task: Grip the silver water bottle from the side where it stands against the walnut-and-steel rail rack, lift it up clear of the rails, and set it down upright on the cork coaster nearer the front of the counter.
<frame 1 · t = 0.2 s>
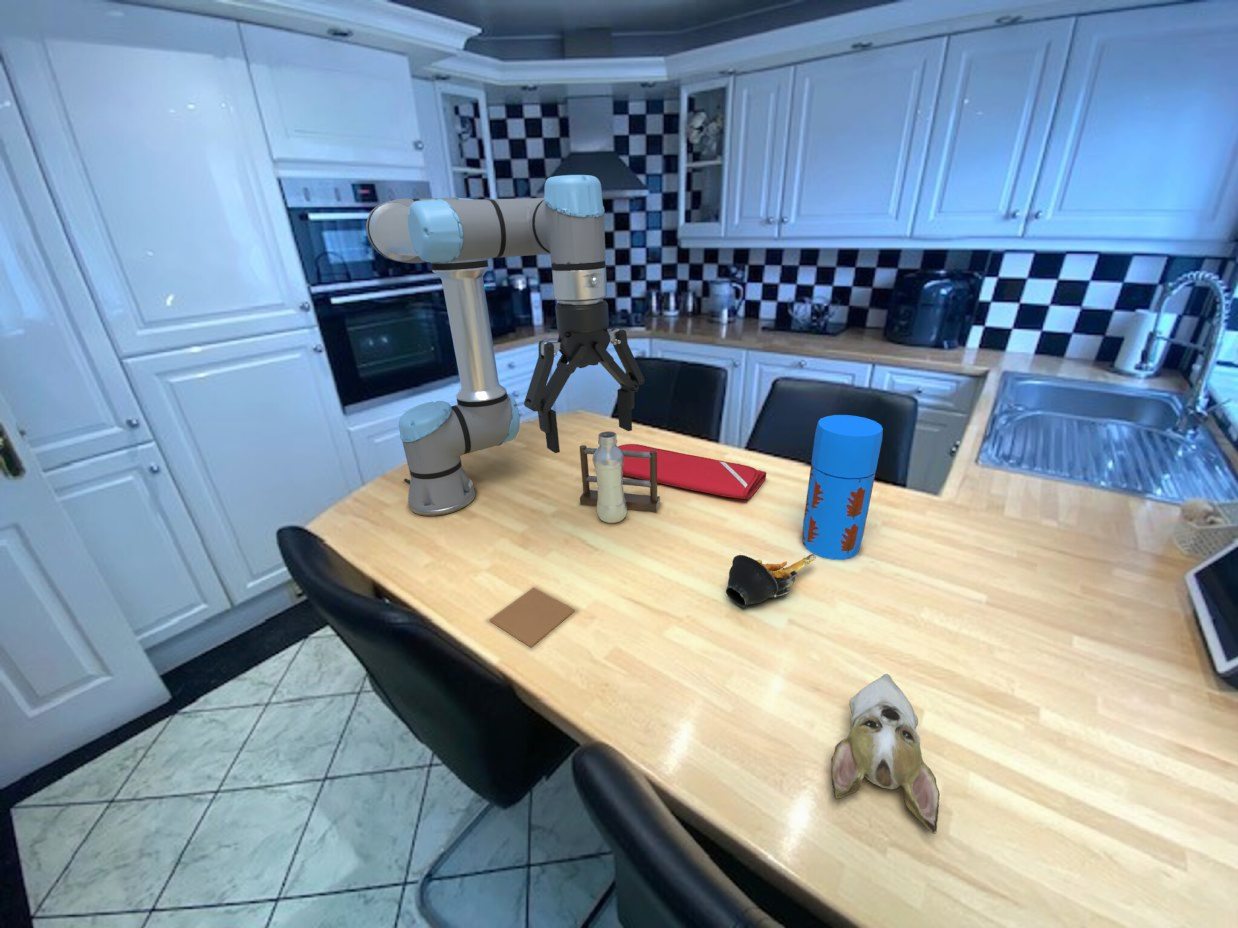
hand: (591, 439, 81), 28 cm above the countertop, tool pointing down, fingers open, 13 cm apart
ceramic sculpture: (878, 766, 59), on the countertop
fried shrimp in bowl: (771, 591, 88), on the countertop
thermos: (830, 544, 100), on the countertop
coaster: (532, 616, 84), on the countertop
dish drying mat: (677, 475, 129), on the countertop
rail rack: (612, 518, 111), on the countertop
silver water bottle: (612, 519, 111), on the countertop
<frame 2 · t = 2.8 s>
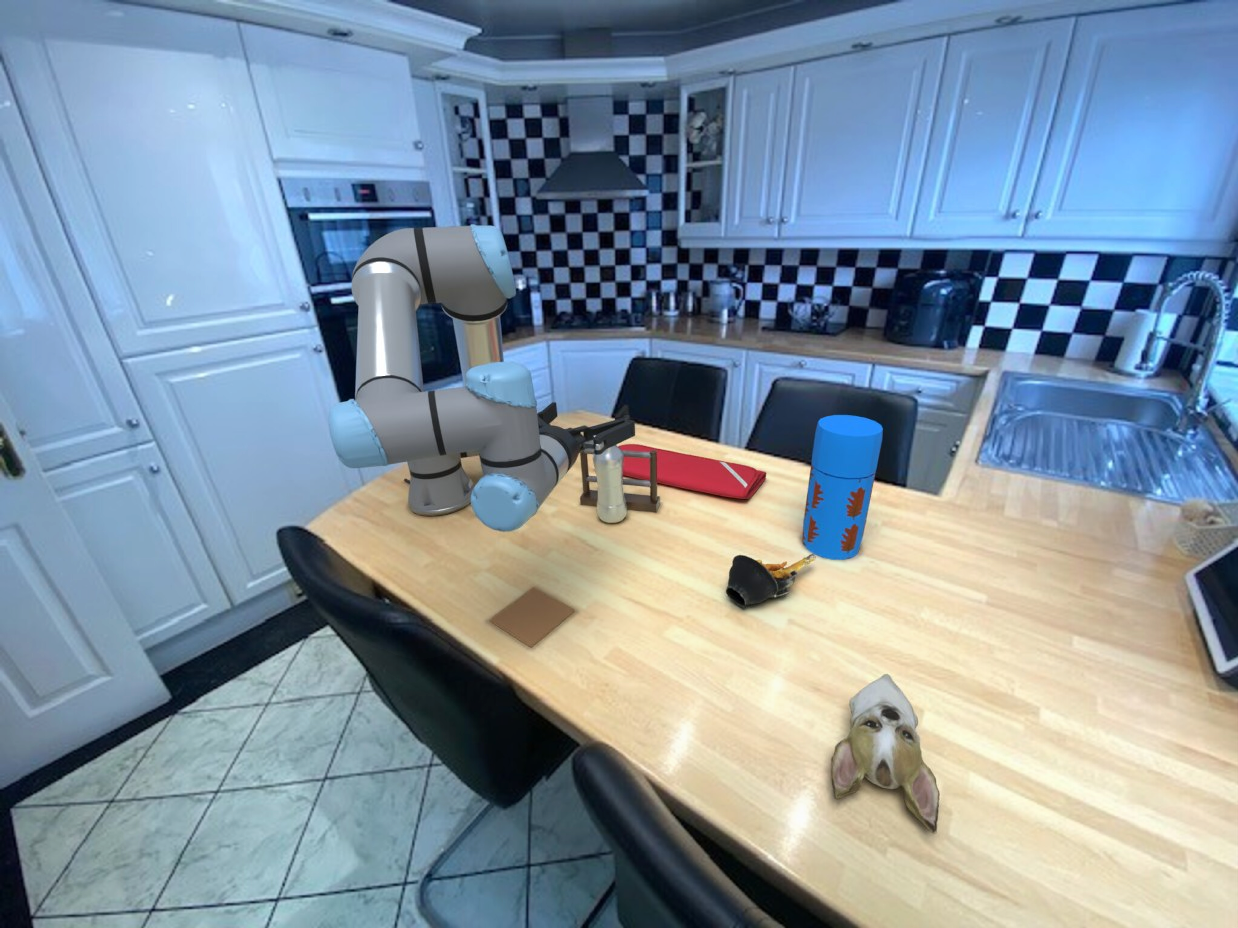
hand: (590, 410, 91), 28 cm above the countertop, tool horizontal, fingers open, 13 cm apart
nothing on the countertop moved.
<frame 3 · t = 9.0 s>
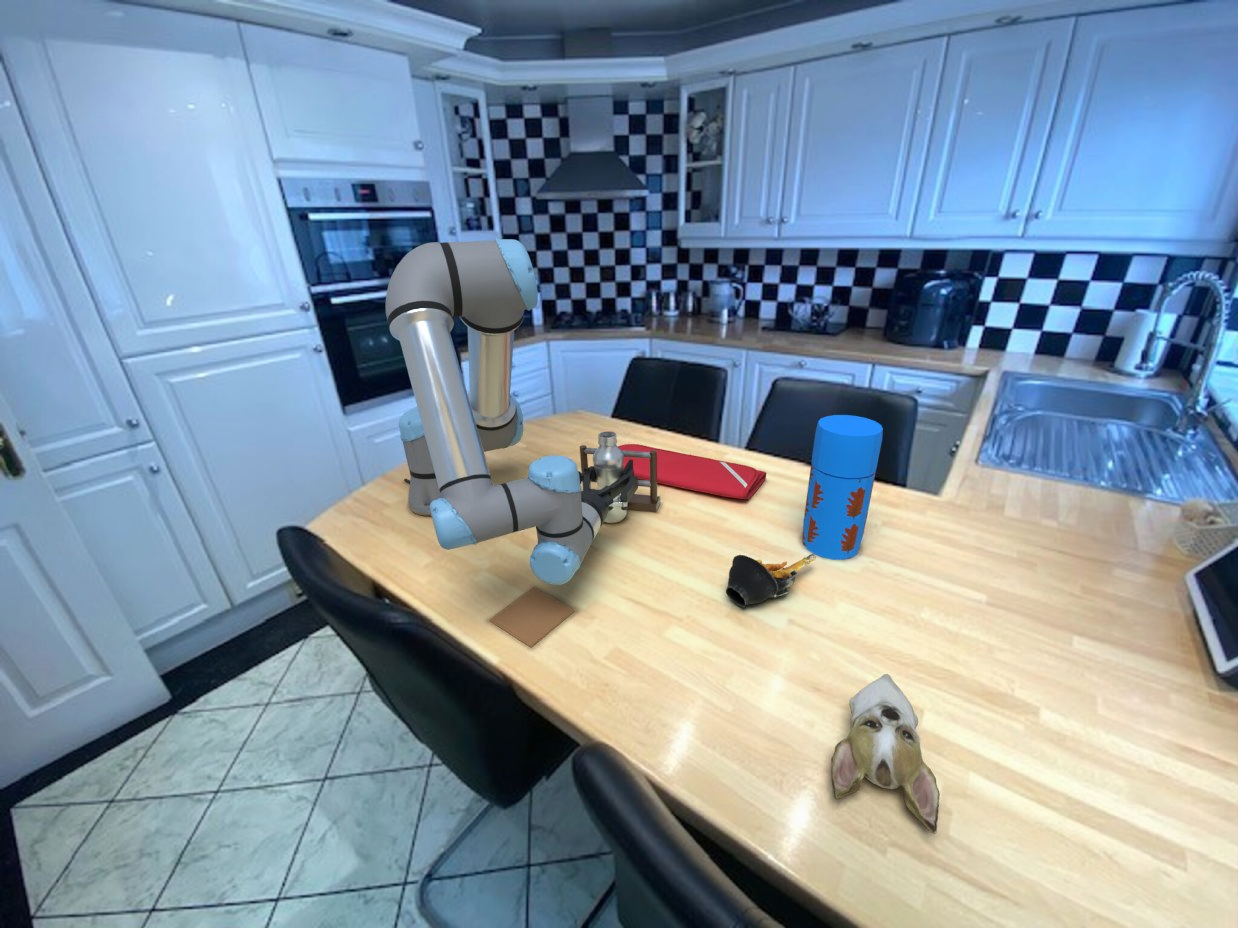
hand: (616, 464, 111), 11 cm above the countertop, tool horizontal, fingers closed on silver water bottle, 6 cm apart
silver water bottle: (612, 519, 111), on the countertop, touching gripper
everything else where it was.
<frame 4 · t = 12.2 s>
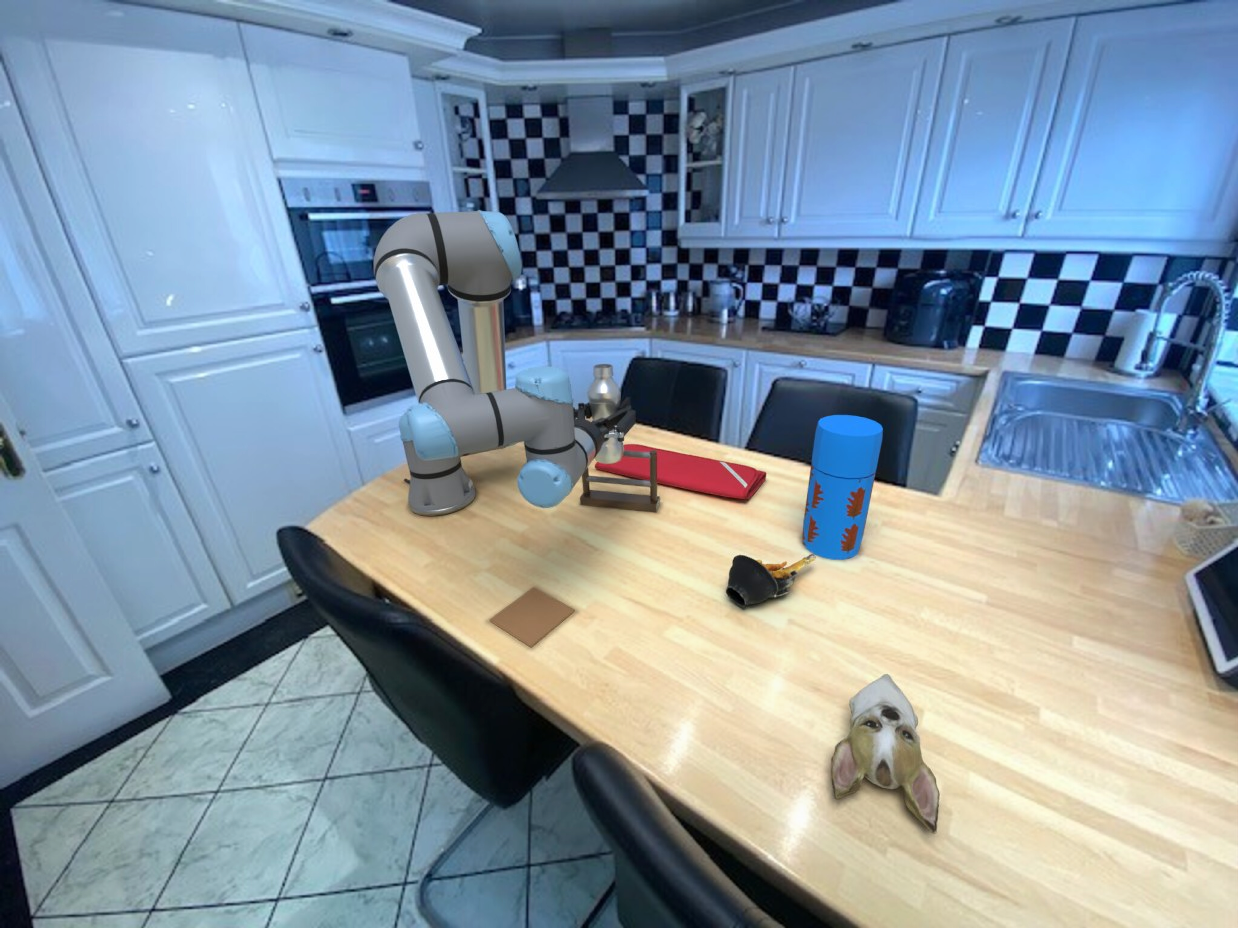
hand: (612, 402, 105), 25 cm above the countertop, tool horizontal, fingers closed on silver water bottle, 6 cm apart
silver water bottle: (608, 461, 105), point 14 cm above the countertop, touching gripper
everything else where it was.
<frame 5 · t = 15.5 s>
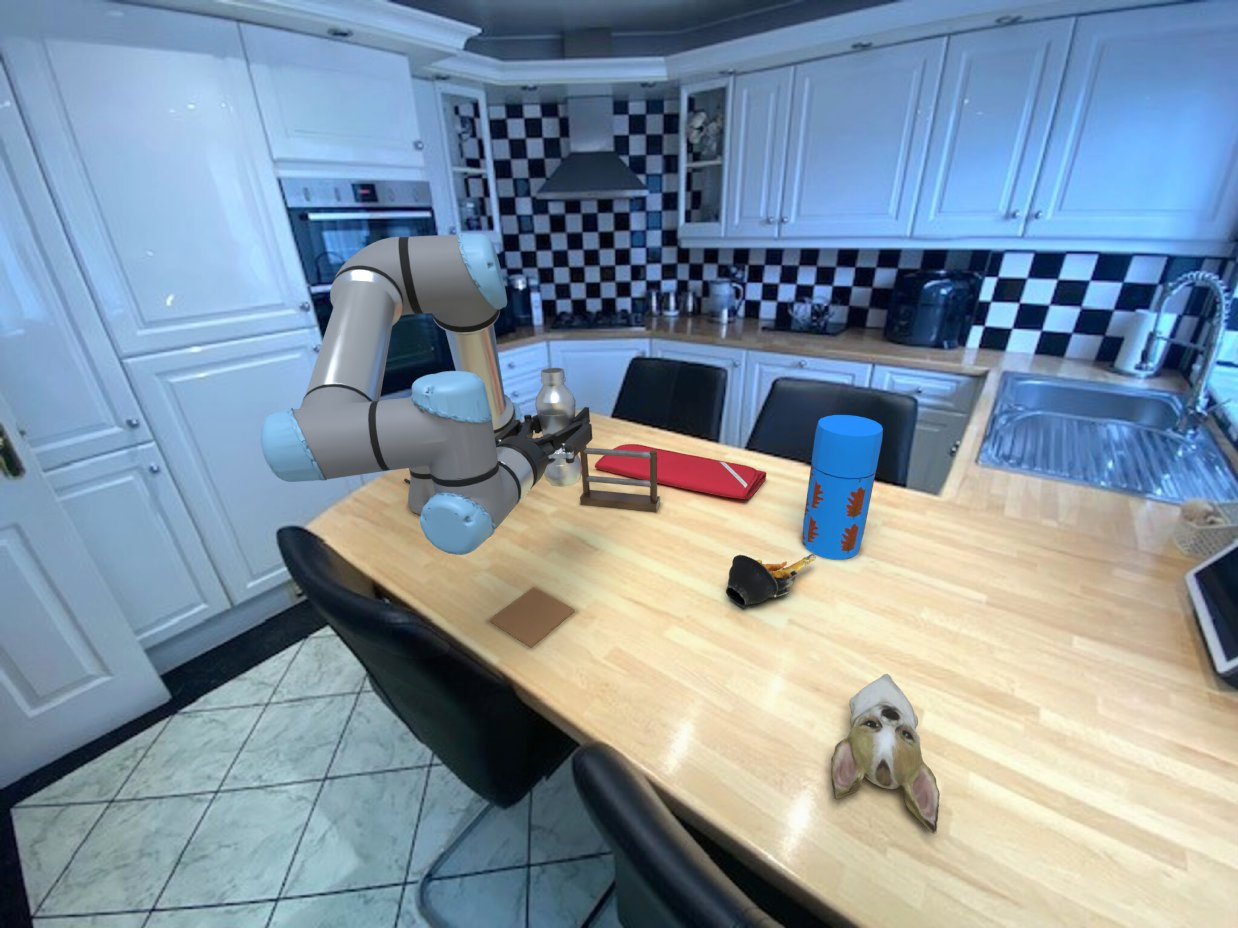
hand: (568, 413, 88), 29 cm above the countertop, tool horizontal, fingers closed on silver water bottle, 6 cm apart
silver water bottle: (564, 483, 88), point 18 cm above the countertop, touching gripper
everything else where it was.
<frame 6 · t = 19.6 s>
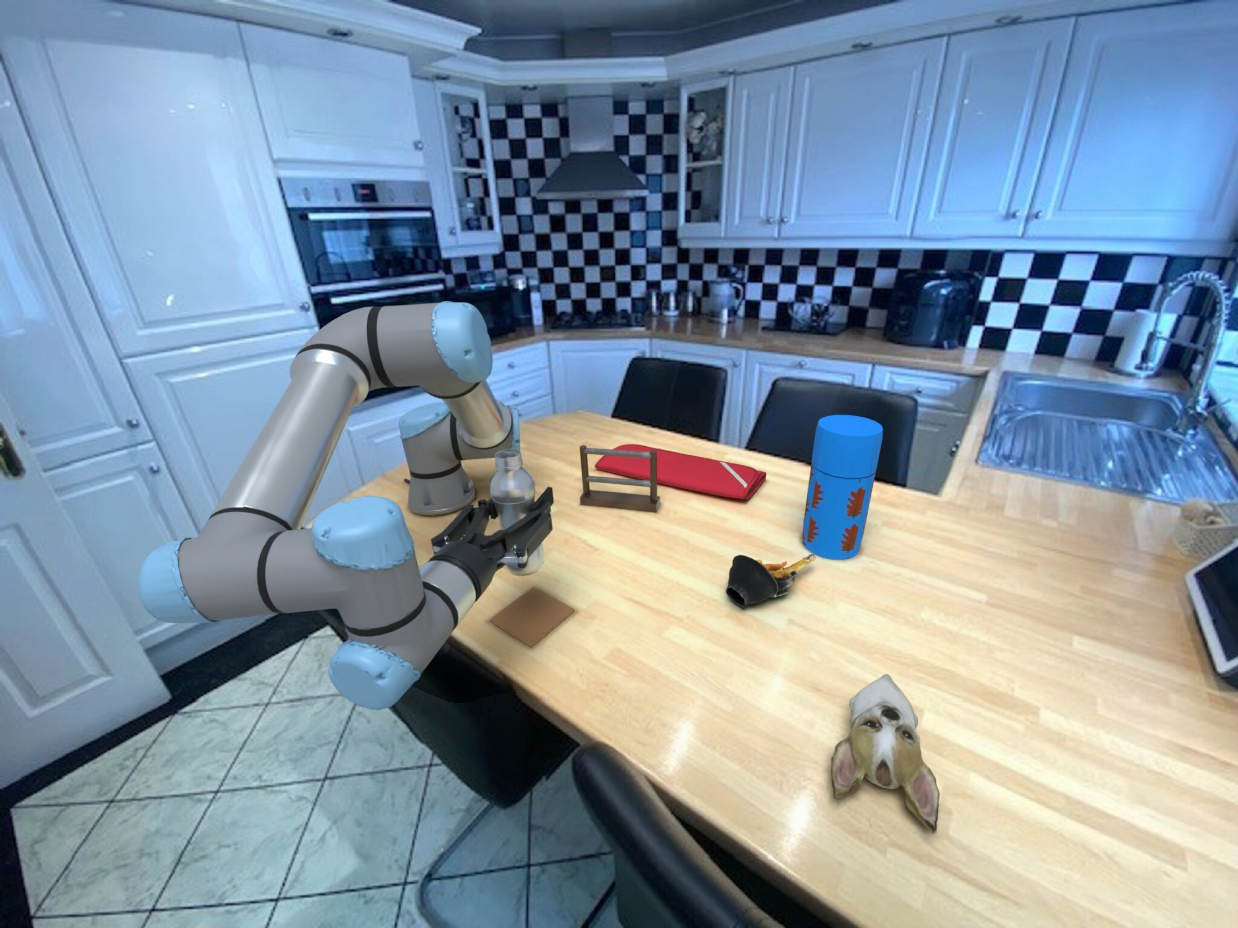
hand: (530, 492, 80), 21 cm above the countertop, tool horizontal, fingers closed on silver water bottle, 6 cm apart
silver water bottle: (525, 569, 80), point 10 cm above the countertop, touching gripper
everything else where it was.
when the fingers open (11 cm above the countertop, at t = 22.4 s): silver water bottle stays where it is, resting on coaster.
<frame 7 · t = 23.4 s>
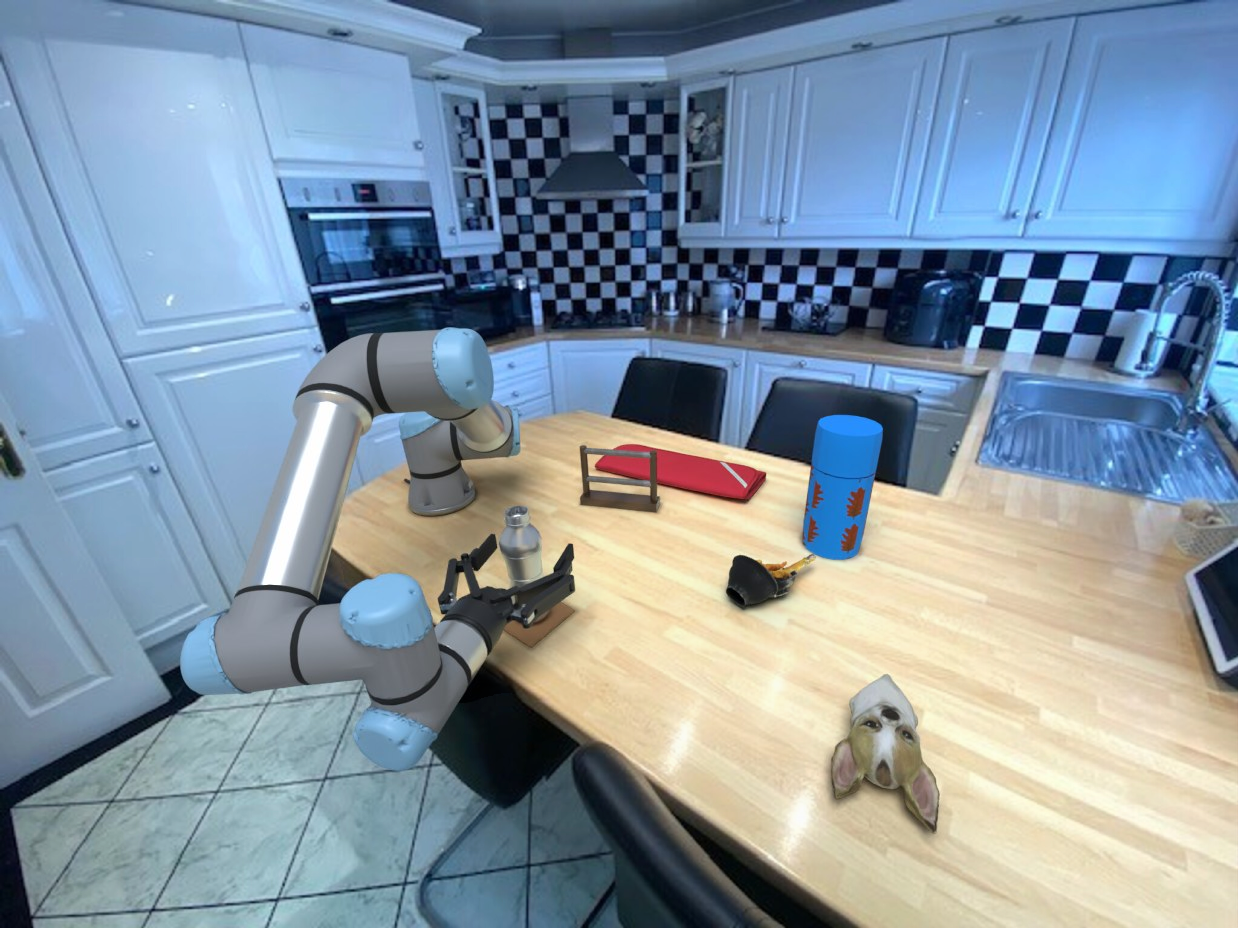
hand: (532, 545, 82), 12 cm above the countertop, tool horizontal, fingers open, 13 cm apart
silver water bottle: (532, 615, 84), resting on coaster
everything else where it was.
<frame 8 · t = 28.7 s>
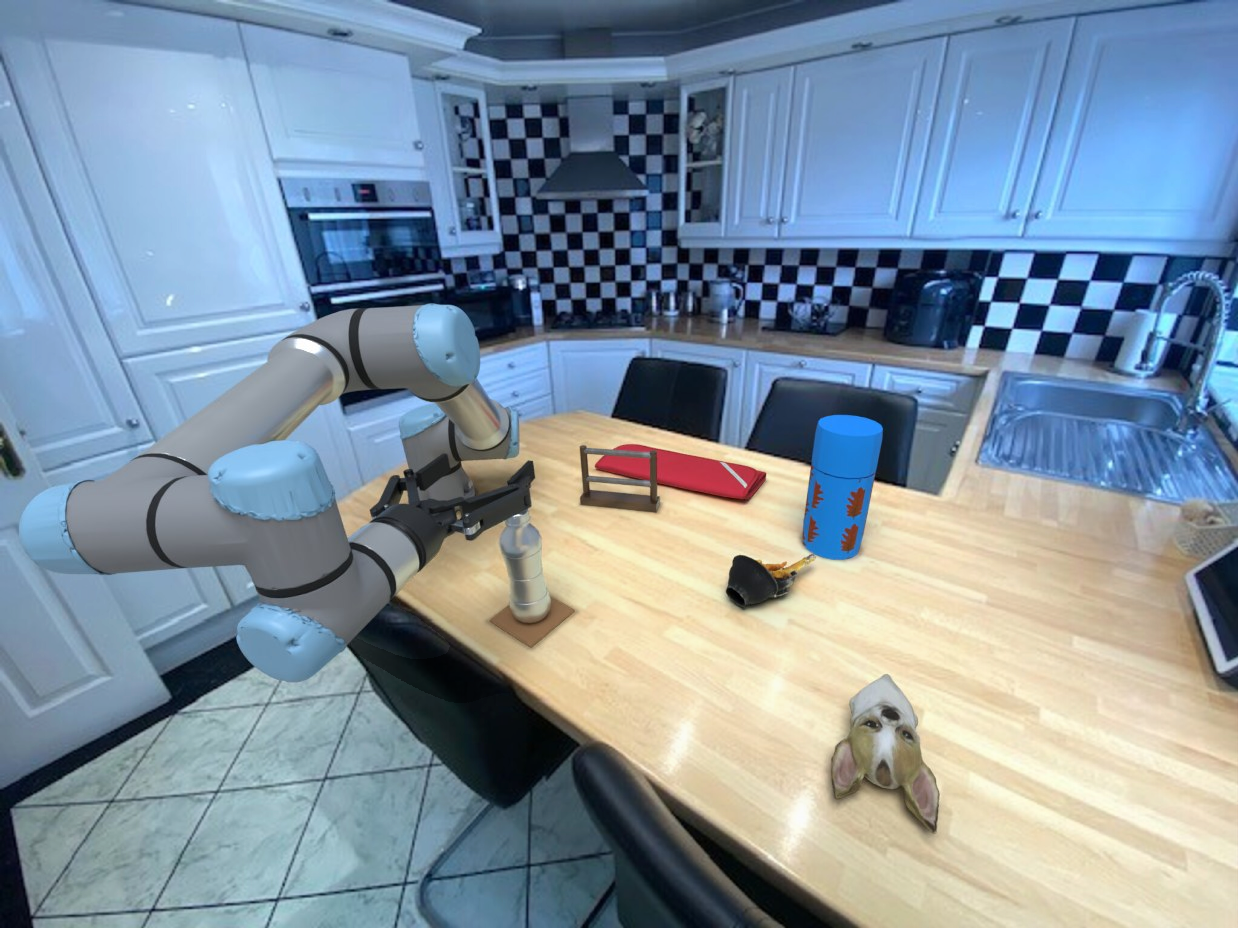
hand: (488, 465, 73), 28 cm above the countertop, tool horizontal, fingers open, 13 cm apart
nothing on the countertop moved.
at the end: silver water bottle 0.1 cm off-centre on the coaster, point 0.2 cm above the coaster's base; silver water bottle tilted 0°; the gripper is holding nothing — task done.
